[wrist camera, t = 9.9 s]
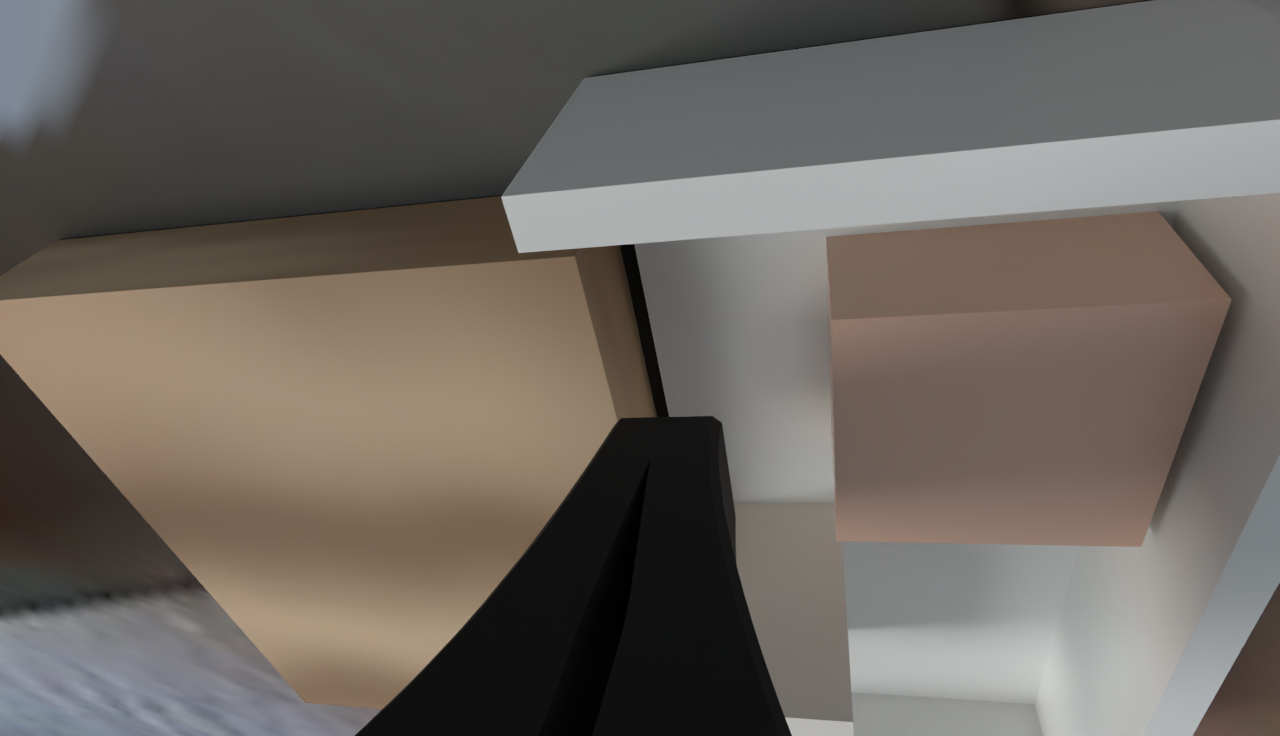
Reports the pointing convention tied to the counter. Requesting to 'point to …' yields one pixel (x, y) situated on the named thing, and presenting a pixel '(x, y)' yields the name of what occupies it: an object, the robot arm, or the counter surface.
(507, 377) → the flat wooden plank
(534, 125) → the counter surface
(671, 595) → the robot arm
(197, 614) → the counter surface
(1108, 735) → the tray
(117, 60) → the counter surface
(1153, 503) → the terracotta tile
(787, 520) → the cream tile
